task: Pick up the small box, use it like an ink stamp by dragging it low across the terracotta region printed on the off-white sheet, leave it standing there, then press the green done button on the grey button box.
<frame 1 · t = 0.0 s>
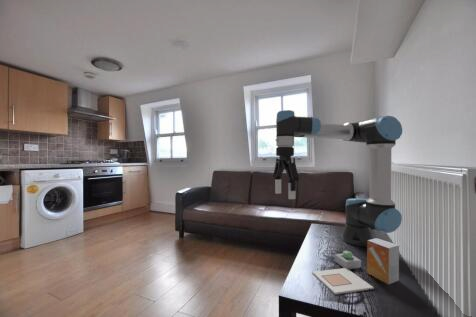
hand: (284, 196, 91), 28 cm above the table, fingers open, 13 cm apart
done button: (347, 255, 88), point 4 cm above the table, slide at 0.0 cm
sheet: (341, 280, 76), on the table
button box: (347, 264, 88), on the table
small box: (382, 277, 79), on the table
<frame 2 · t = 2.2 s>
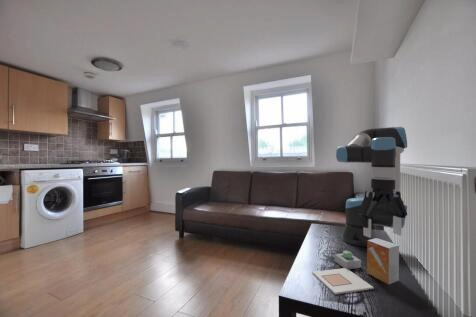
hand: (382, 235, 79), 16 cm above the table, fingers open, 13 cm apart
nothing on the table moved.
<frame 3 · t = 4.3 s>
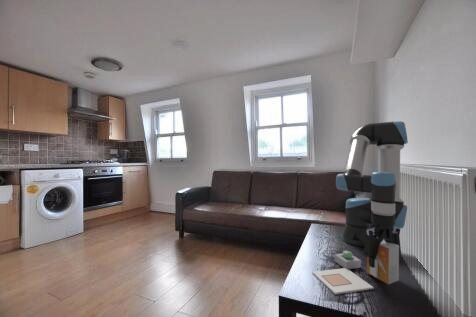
hand: (382, 274, 79), 1 cm above the table, fingers closed on small box, 7 cm apart
small box: (382, 277, 79), on the table, touching gripper
everything else where it was.
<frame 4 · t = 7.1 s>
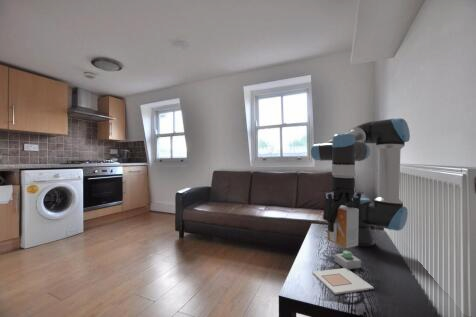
hand: (342, 239, 76), 15 cm above the table, fingers closed on small box, 7 cm apart
small box: (342, 243, 76), point 14 cm above the table, touching gripper
everything else where it was.
when the fingers open (3 cm above the table, at t = 10.1 s): small box drops 1 cm, resting on sheet.
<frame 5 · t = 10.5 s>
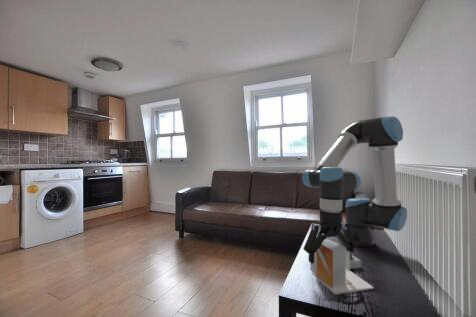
hand: (330, 269, 75), 4 cm above the table, fingers open, 13 cm apart
small box: (330, 280, 75), resting on sheet
everything else where it was.
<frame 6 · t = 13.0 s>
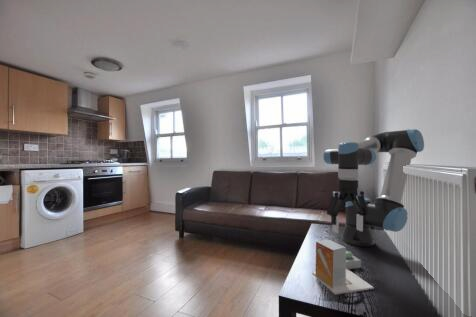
hand: (347, 231, 88), 14 cm above the table, fingers open, 11 cm apart
nothing on the table moved.
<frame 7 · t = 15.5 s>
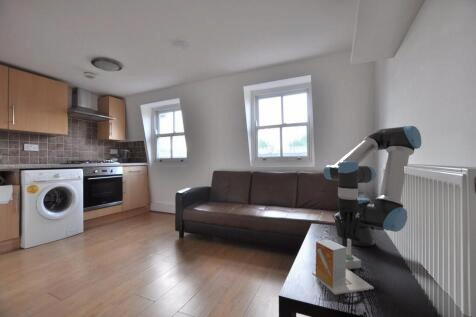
hand: (347, 254, 88), 4 cm above the table, fingers closed
done button: (347, 257, 88), point 3 cm above the table, slide at 0.9 cm, touching gripper
everything else where it was.
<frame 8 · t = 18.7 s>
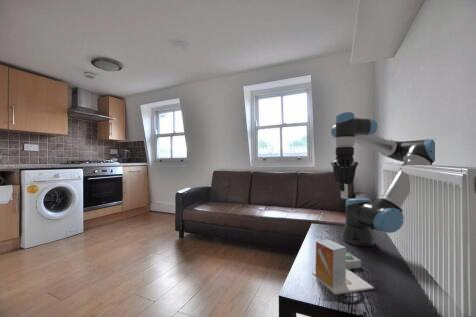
hand: (344, 198, 96), 26 cm above the table, fingers closed
done button: (347, 257, 88), point 3 cm above the table, slide at 1.2 cm
everything else where it was.
at the end: done button slide at 1.2 cm; small box inside the target area (3.5 cm from its centre), resting on sheet; small box tilted 0° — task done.
